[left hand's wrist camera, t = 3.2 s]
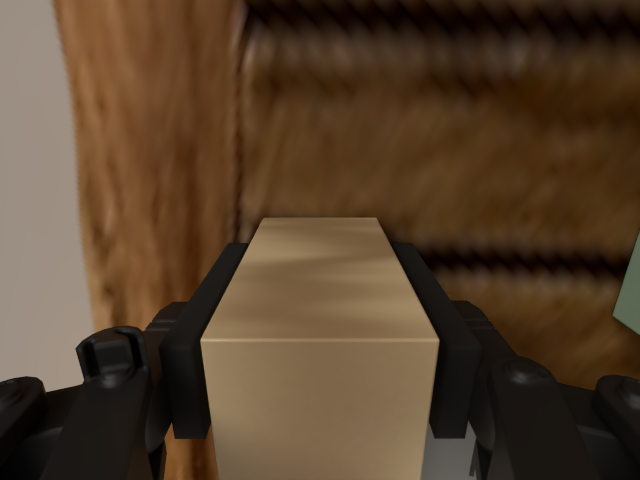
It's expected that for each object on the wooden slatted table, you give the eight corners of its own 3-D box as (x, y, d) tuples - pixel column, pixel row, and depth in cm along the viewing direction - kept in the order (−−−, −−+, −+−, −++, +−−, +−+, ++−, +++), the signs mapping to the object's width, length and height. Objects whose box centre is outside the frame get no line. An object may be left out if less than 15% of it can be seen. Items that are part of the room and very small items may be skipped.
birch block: (376, 217, 14) (441, 339, 7) (371, 315, 16) (418, 505, 8) (263, 217, 14) (198, 339, 7) (268, 315, 16) (221, 505, 8)
